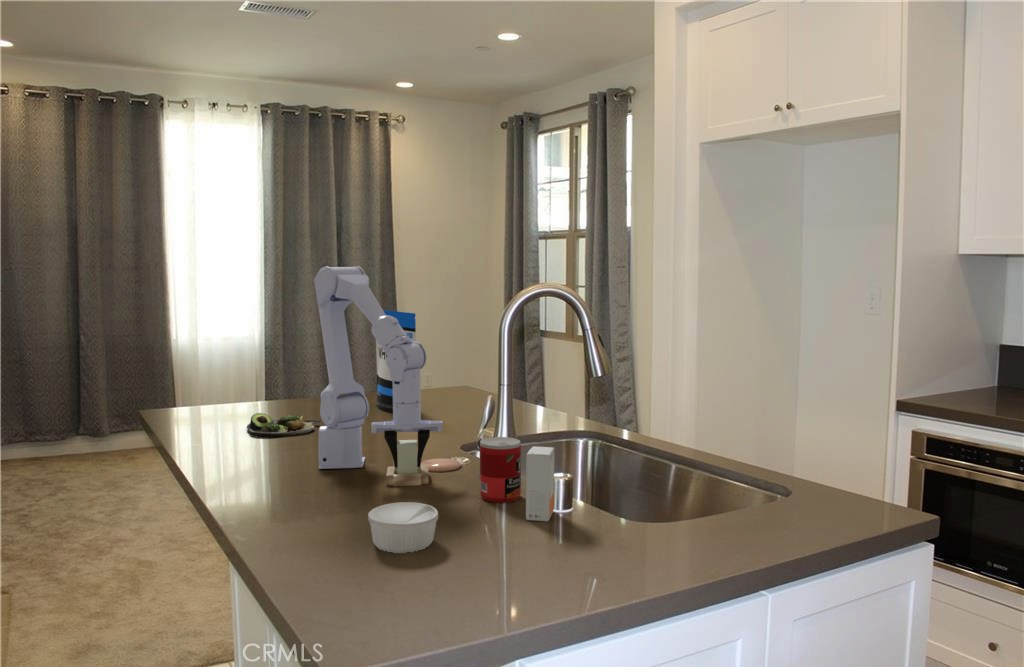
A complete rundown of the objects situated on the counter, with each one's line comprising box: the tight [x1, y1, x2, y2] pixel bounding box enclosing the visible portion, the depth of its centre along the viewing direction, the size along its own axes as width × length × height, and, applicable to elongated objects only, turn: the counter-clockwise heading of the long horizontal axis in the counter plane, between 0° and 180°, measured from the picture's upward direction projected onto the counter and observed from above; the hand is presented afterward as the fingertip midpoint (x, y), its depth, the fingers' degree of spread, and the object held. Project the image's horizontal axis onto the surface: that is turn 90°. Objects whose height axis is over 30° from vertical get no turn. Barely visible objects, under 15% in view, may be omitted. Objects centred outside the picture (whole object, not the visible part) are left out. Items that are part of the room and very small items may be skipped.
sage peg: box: [397, 439, 418, 474], centre depth 164 cm, size 4×4×8 cm
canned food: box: [479, 436, 522, 504], centre depth 152 cm, size 8×8×11 cm
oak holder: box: [385, 465, 429, 487], centre depth 165 cm, size 8×8×2 cm
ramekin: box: [367, 501, 439, 554], centre depth 128 cm, size 11×11×5 cm
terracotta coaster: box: [421, 458, 462, 473], centre depth 175 cm, size 9×9×1 cm
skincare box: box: [525, 446, 555, 522], centre depth 141 cm, size 6×4×12 cm
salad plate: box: [246, 412, 322, 438], centre depth 213 cm, size 19×18×5 cm
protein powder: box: [375, 309, 417, 414], centre depth 241 cm, size 10×24×30 cm, turn 38°
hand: (407, 466), depth 164 cm, fingers closed on sage peg, 4 cm apart
